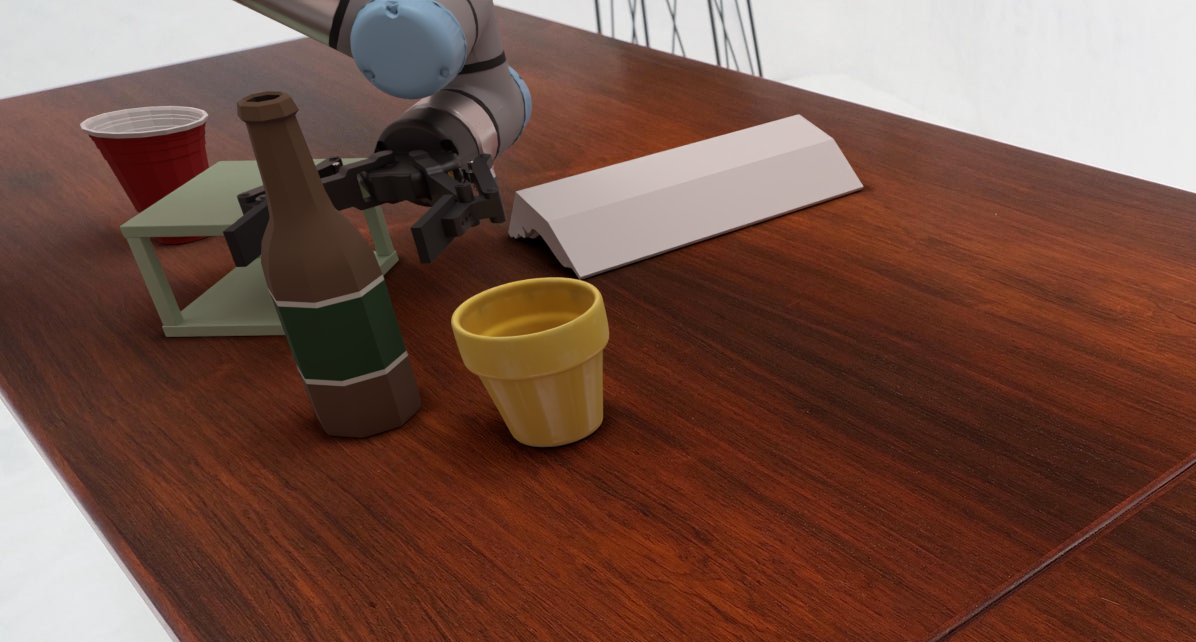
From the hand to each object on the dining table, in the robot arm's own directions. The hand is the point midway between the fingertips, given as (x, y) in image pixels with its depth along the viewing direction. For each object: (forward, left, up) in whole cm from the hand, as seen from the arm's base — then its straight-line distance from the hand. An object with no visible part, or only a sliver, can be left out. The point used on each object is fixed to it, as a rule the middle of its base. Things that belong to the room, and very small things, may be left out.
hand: (327, 247), depth 92 cm
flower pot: (+15, -3, -13) cm, 20 cm away
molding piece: (+16, +40, -13) cm, 45 cm away
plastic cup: (-35, +37, -13) cm, 52 cm away
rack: (-17, +21, -13) cm, 30 cm away
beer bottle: (0, -1, -13) cm, 13 cm away
